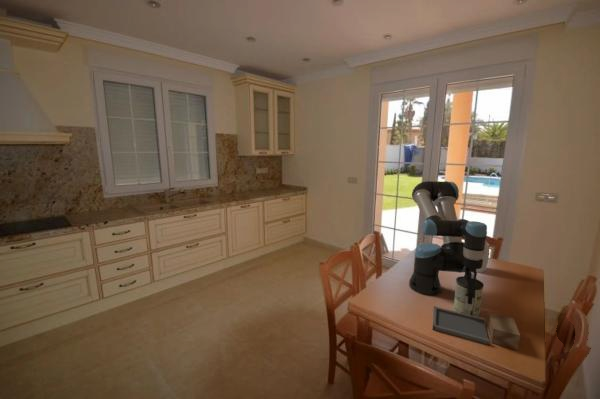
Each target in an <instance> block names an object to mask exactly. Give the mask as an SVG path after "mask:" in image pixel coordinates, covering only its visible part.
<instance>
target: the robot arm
mask: <svg viewBox="0 0 600 399" xmlns="http://www.w3.org/2000/svg"><path fill="white" fill-rule="evenodd" d="M459 196H460V194H459V187H458V185H457V183H455V182H453V181H447V180H445V181H436V180H434V181H433V180H431V181H429V180H427V181H425V180H424V181H422V182H420V183H418V184H416V186H414V188H413V189H412V192H411V197H412V200H413V202H414V203H416V205H417V207H418V210H419V211H420V212H419V213H420V214H421V216H422V219H423V221H422V224H421V230H422V233H423V235H426V236H430V237H442V242H443V243H442V244H441V245H439V244H437V243H432V242H424V243H420V244H419V245H417V246H416V247H415V251H414V266H413V272H412V274H411V277H410V279H409V282H408V286H409V287H410V289H411V290H412V291H414V292H416V293H419V294H422V295H428V296H435V295H439V294H440V293H441V290H442V285H441V282H440V278H439V272H451V273H459V274H460V273H464V275H463V276H465V277H466V280H467V281H468V284H467V294H465V296H466V302H465V309H467V310H471V311H472V309H473V301H474V298H475V286H476V279H477V275H478V272H476V269H480V268H482V264H483V254H485V253H486V252H485V251H484V248H485V241H487V235H488V226H487V224H486V223H485V222H480V221H473V220H472V221H471V220H470V221H469V220H467V219H464V218H459V219H458V218H457V217H458V216H457V212H456V208H455V204H456V202H457V201H458V199H459V198H460V197H459ZM462 238H463V239H464V242H463V239H462Z"/></svg>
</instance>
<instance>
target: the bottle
mask: <svg viewBox="0 0 600 399" xmlns="http://www.w3.org/2000/svg"><path fill="white" fill-rule="evenodd" d="M484 251H485V252H486V253H485V254H483V264H482V268H480V269H476V272H477V273H485V271H486V268H487V266H488V263H489V257H490V246H489V243H488V241H487V240H486V241H485V248H484Z"/></svg>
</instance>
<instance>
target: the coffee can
mask: <svg viewBox="0 0 600 399" xmlns="http://www.w3.org/2000/svg"><path fill="white" fill-rule="evenodd" d="M467 284H468V281H467V280H466V277H465V276H464V275H462V276H458V277H457V278H456V280H455V291H454V301H453V310H454V311H455V312H460V313H464V314H468V315H472V316H476V317H480V314H481V305H482V298H483V290H484V286H485V285H484V283H483V282H482V281H481V280H479V279H477V278H476V286H475V298H474V301H473V309H472V311H471V310H467V309H465V302H466V296H465V294H467Z"/></svg>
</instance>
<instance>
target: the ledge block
mask: <svg viewBox="0 0 600 399" xmlns="http://www.w3.org/2000/svg"><path fill="white" fill-rule="evenodd" d="M486 326H487V330H488V335H489V340H490V342H491V344H495V345H498V346H502V347H506V348H509V349H513V350H515V351H516V350H517V351H518V350H519V347H520V346H519V345H520V341H521V340H520V339H521V333H520V331H519V328H518V326H517V324H516V320H515V319H514V318H513V317H509V316H505V315H500V314H497V313H496V314H495V313H492V312H488V319H487V325H486Z"/></svg>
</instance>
